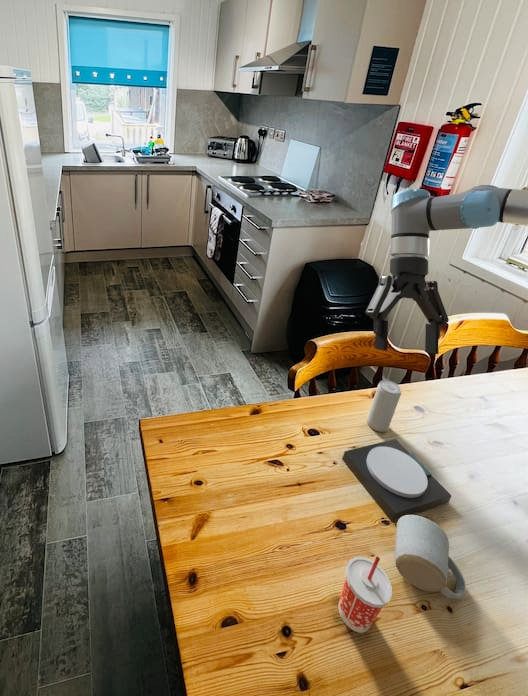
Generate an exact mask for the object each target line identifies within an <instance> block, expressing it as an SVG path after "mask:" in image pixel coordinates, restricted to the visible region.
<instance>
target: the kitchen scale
mask: <svg viewBox="0 0 528 696" xmlns="http://www.w3.org/2000/svg"><path fill="white" fill-rule="evenodd" d="M341 459H342V461H343V462H344V463H345V465H346V466H347V467H348V469H349V470H350V471H351V472H352V474H353V475H354V476H355V477H356V479H357V480H358V481H359V482H360V483H361V485H362V486H363V487H364V488H365V490H366V491H367V492H368V494H369V495H370V496H371V497H372V499H373V500H374V502H376V504H377V506H379V508H380V509H381V510H382V512H383V513H384V514H385V515H386V517H387V519H389V520H390V521H391V522H394V521H398V520H399V519H400V518H401V517H402V516H405V515H418V514H420V513H423V512H426V511H429V510H432V509H436V508H439V507H442V506H445V505H448V504H449V502H450V501H451V499H452V494H451V493H450V492H449V491H448V490H447V489H446V488H445V487H444V486H443V485H442V484H441V483H440V482H439V481H438V480H437V479H436V478H435V477H434V476H433V473H432V472H431V471H430V470H429V469H428V468H427V467H426V466H425V465H424V464H423V463H422V462H421V461H420V460H419V459H418V458H417V457H416V456H415V455H414V454H413V453H411V452H410V451H408V450H407V448H406V447H404V445H402V444H401V442H399V440H398V439H397V438H393V439H388V440H385V441H381V442H377V443H372V444H368V445H364V446H360V447H356V448H352V449H348V450H344V451H343V455H342V457H341Z"/></svg>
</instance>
